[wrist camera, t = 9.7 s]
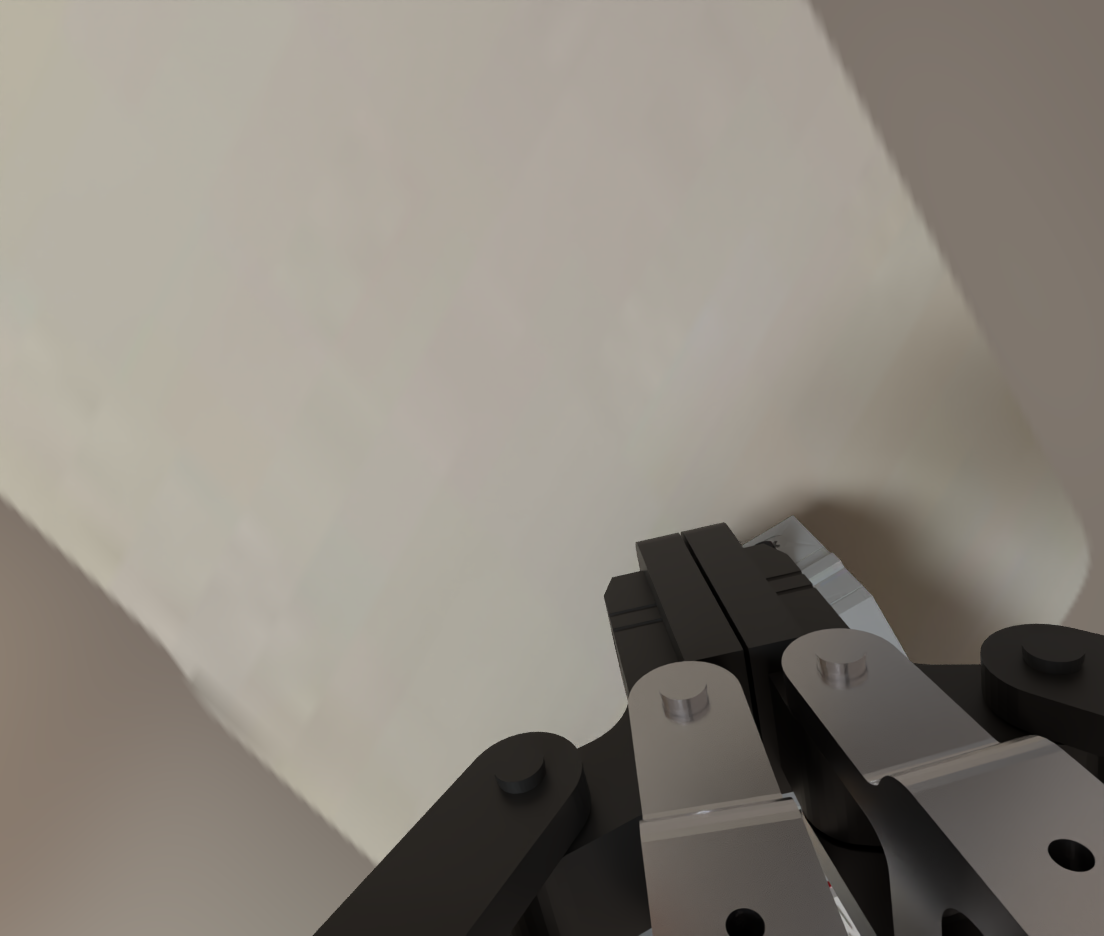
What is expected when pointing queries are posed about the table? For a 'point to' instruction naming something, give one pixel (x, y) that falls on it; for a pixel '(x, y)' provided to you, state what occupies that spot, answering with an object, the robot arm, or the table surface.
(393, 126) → the table surface
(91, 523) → the table surface
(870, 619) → the circuit breaker
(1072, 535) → the table surface
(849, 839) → the robot arm
